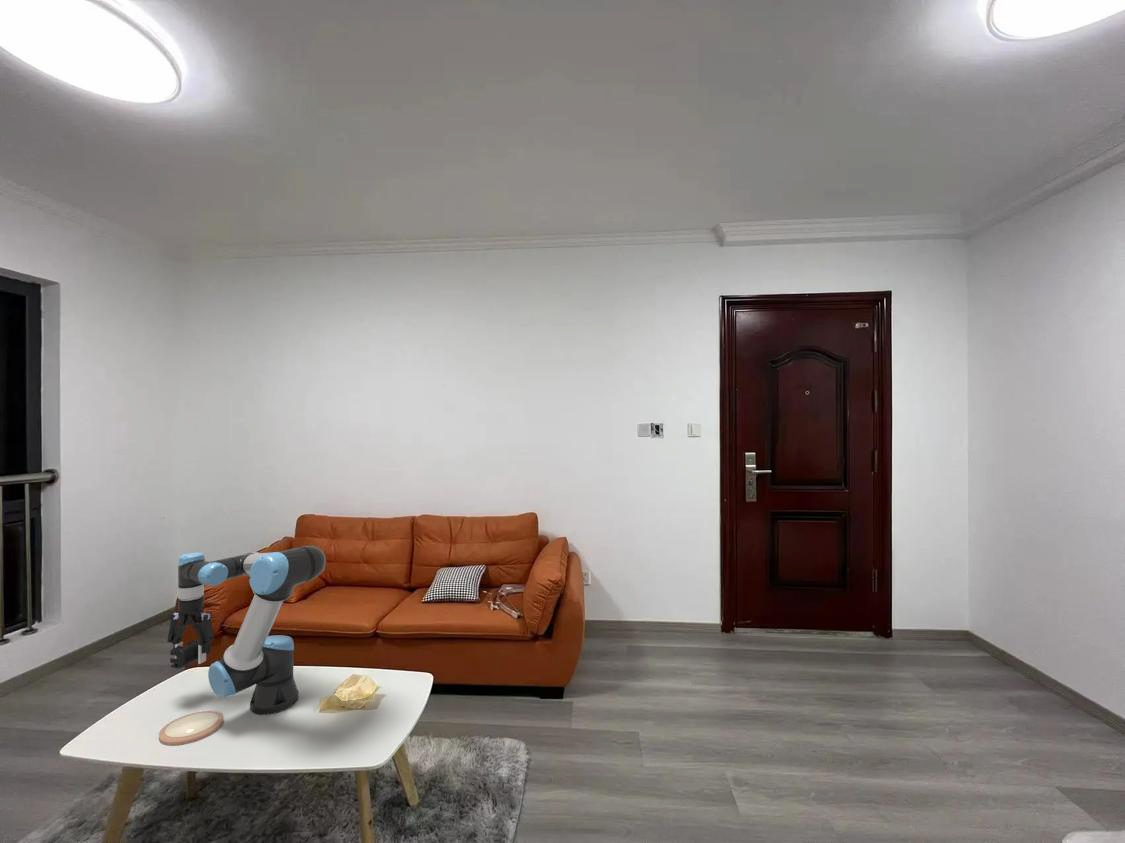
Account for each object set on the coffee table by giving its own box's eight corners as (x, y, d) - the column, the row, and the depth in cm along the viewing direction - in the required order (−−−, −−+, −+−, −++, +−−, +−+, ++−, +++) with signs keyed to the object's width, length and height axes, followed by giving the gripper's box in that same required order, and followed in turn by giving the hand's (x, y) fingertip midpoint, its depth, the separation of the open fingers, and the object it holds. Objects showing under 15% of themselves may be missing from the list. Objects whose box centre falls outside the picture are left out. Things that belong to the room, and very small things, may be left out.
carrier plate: (235, 716, 175) (235, 710, 175) (197, 746, 158) (197, 740, 158) (187, 714, 176) (187, 709, 176) (144, 744, 159) (144, 739, 159)
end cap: (184, 670, 178) (184, 650, 178) (168, 668, 179) (169, 648, 180) (211, 658, 187) (211, 639, 187) (196, 655, 189) (196, 637, 189)
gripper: (226, 594, 187) (226, 657, 186) (171, 593, 188) (171, 656, 188) (211, 601, 180) (210, 667, 179) (154, 600, 181) (153, 666, 180)
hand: (190, 661), depth 183 cm, fingers closed on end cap, 8 cm apart
